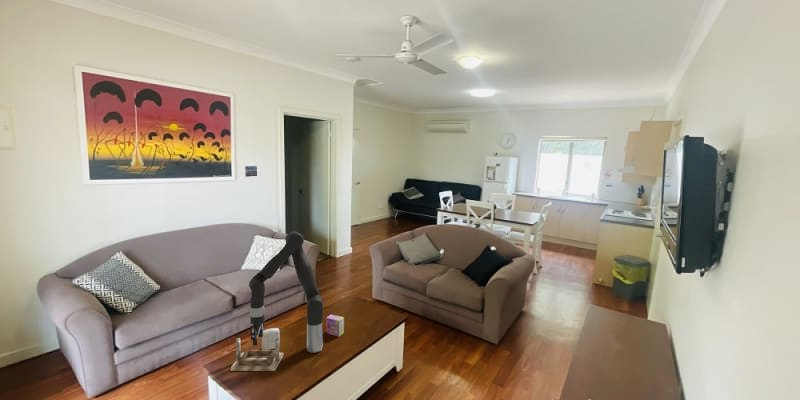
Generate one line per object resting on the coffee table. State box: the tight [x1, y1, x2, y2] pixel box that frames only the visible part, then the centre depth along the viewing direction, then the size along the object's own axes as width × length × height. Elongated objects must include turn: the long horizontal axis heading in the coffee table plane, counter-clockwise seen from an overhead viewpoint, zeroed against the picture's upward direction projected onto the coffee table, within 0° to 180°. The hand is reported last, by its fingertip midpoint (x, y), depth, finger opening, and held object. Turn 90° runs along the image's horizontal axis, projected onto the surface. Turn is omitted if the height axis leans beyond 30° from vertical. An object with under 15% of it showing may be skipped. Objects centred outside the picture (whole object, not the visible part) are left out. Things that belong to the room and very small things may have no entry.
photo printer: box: [261, 327, 281, 350], centre depth 200 cm, size 10×4×12 cm, turn 116°
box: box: [325, 314, 345, 338], centre depth 219 cm, size 10×6×12 cm, turn 68°
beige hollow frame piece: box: [230, 337, 284, 372], centre depth 185 cm, size 24×15×14 cm, turn 93°
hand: (258, 340), depth 184 cm, fingers open, 8 cm apart
